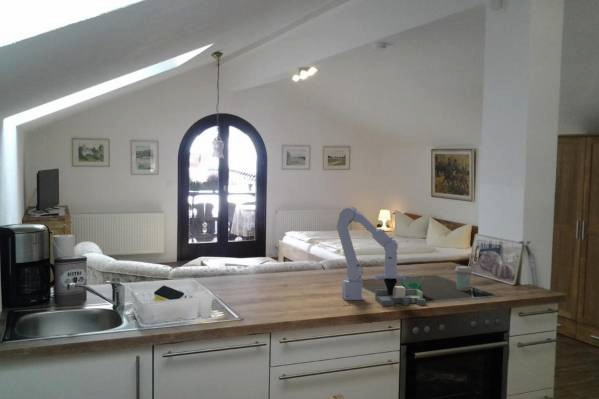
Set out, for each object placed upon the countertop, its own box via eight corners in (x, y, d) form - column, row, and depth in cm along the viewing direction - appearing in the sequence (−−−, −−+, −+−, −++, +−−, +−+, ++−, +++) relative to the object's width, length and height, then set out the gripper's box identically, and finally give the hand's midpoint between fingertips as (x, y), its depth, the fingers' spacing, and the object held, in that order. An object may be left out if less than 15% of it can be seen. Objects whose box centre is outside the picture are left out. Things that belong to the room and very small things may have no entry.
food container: (403, 297, 275) (404, 277, 274) (399, 294, 281) (399, 274, 280) (427, 296, 277) (428, 276, 276) (422, 293, 283) (423, 274, 282)
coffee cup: (461, 292, 289) (462, 268, 288) (450, 288, 297) (451, 266, 296) (474, 290, 292) (475, 268, 291) (464, 287, 300) (465, 265, 299)
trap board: (382, 305, 257) (382, 295, 257) (375, 299, 268) (375, 289, 268) (425, 304, 260) (426, 294, 260) (417, 299, 271) (417, 289, 271)
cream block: (395, 297, 263) (396, 288, 263) (392, 295, 268) (393, 286, 268) (405, 297, 264) (405, 288, 264) (402, 295, 268) (402, 285, 268)
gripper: (378, 267, 259) (377, 296, 260) (408, 267, 261) (407, 296, 262) (373, 264, 266) (373, 293, 267) (403, 264, 268) (402, 292, 269)
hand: (389, 294), depth 265 cm, fingers closed
